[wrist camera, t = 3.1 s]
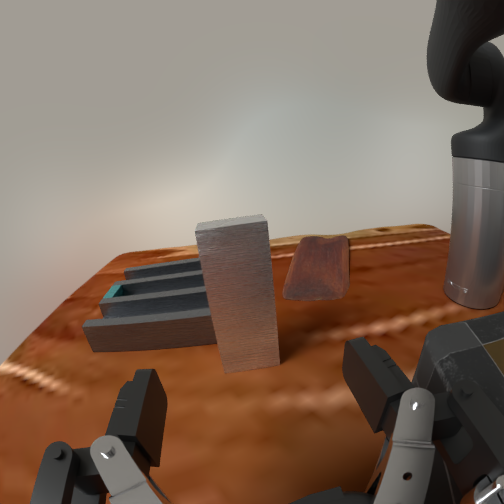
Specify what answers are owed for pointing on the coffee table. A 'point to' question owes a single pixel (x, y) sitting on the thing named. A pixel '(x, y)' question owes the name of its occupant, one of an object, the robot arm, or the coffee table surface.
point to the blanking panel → (240, 290)
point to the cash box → (460, 368)
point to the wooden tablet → (318, 270)
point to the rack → (154, 310)
